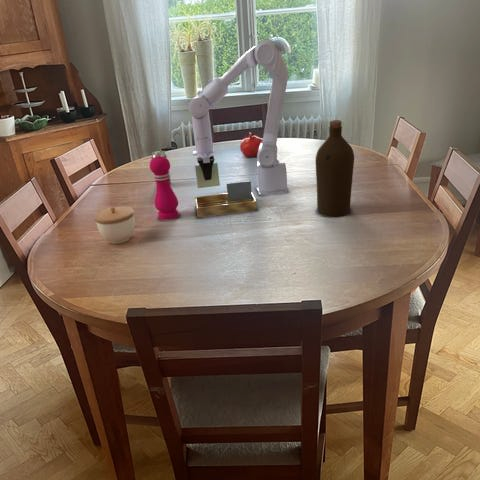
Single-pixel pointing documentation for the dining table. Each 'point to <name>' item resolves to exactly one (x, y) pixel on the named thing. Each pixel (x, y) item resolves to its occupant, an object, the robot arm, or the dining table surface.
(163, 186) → the pepper mill
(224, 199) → the coaster basket
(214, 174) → the sage coaster
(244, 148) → the pomegranate
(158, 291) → the dining table surface
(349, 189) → the olive oil
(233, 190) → the blue coaster
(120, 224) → the trinket box
